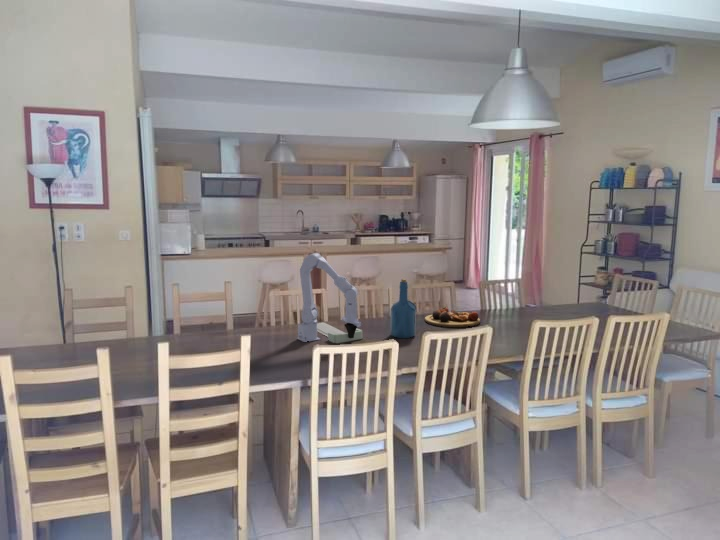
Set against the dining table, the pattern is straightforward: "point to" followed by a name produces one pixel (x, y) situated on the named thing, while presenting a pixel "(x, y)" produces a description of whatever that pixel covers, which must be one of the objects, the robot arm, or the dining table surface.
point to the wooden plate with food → (452, 318)
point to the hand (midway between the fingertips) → (351, 337)
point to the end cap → (345, 336)
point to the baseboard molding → (327, 329)
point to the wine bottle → (403, 315)
